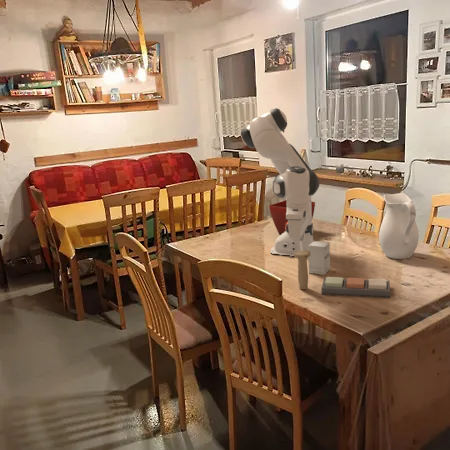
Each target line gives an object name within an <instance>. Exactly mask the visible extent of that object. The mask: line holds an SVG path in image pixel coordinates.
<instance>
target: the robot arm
mask: <svg viewBox="0 0 450 450" xmlns="http://www.w3.org/2000/svg"><path fill="white" fill-rule="evenodd" d="M287 126H288V120H287V116H286V114H285V113H284V112H283V111H282V110H280V108H276V107H275V108H271V109H270V110H269V111H268V112H265V113H263V114H262V115H260V116H257V117H254V118H253V119H252V120H251V121H250V122H249V124H248V125H246V126H244V127H243V128H242V129H241V132H240V136H241V140H242V142H243V144H244V145H245V146H247V148H250V149H254V148H255V150H256V152H257V153H258V154H259V155H260V156H261V157H263V158H265V159H268V160H270V161H271V163H272V165H273V166H274V168H275V169H276V171H277V172H278V174H279V175H276V176H275V178H274V180H273V181H272V191H273V194H275V196H276V197H277V198H279V199H286V200H287V202H286V204H287V212H286V219H288V222H287V223H286V226H285V232H284V233H283V234H280V235H279V236H277V238H276V239H275V240H274V241H275V242H274V245H273V246H272V247H271V248H270V252H271V253H272V254H281V255H280V256H282V255H290V256H289V257H292V256H294V253H296V252H298V251H308V246H309V245H310V244H311V243H312V242H314V241H315V240H314V224H313V218H312V211H311V202H312V196H314V195H315V193H317V192H318V190H319V188H320V179H319V176H318V175H317V174H316V172H315V171H314V170H313V169H311V168H310V167H309V165H308V164H307V163H306V161H305V159H303V157H302V156H301V155H300V153H299V152H298V151H297V149H296V147H295V146H293V145H292V144H291V143H289V142H288V140H287V139H286V137H285V136H284V135H283V133H285V130H286V128H287ZM271 253H270V254H271ZM272 254H271V255H272Z"/></svg>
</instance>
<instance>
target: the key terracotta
mask: <svg viewBox="0 0 450 450" xmlns="http://www.w3.org/2000/svg"><path fill="white" fill-rule="evenodd" d="M346 279H347V283H346V288H364V280H365V277H364V278H363V277H362V278H361V277H347V278H346Z"/></svg>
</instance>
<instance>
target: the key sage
mask: <svg viewBox="0 0 450 450" xmlns="http://www.w3.org/2000/svg"><path fill="white" fill-rule="evenodd" d="M325 278H326V281H325V287H343V279H344V277H343V276H341V277H340V276H326V277H325Z"/></svg>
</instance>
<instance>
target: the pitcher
mask: <svg viewBox="0 0 450 450" xmlns="http://www.w3.org/2000/svg"><path fill="white" fill-rule="evenodd" d="M383 199H384V202H385V204H386V212H385V215H384V216H383V220H382V221H381V225H380V228H379V233H378V239H379V246H380V248H381V250H382V252H383V253H384V255H385V256H386V257H387V258H389V259H395V260H405V259H409V258H411V257H412V256H413V255H414V253H415V251H416V249H417V247H418V244H419V236H420V235H419V229H418V226H417V222H416V218H417V217H416V214H417V212H416V211H417V210H416V207H415V205H414V203H413V202H414V201H413V200H412V199H411V198H410V196H408V195H407V194H406V193H404V192H401V193H400V192H399V193H392V194H383Z"/></svg>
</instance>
